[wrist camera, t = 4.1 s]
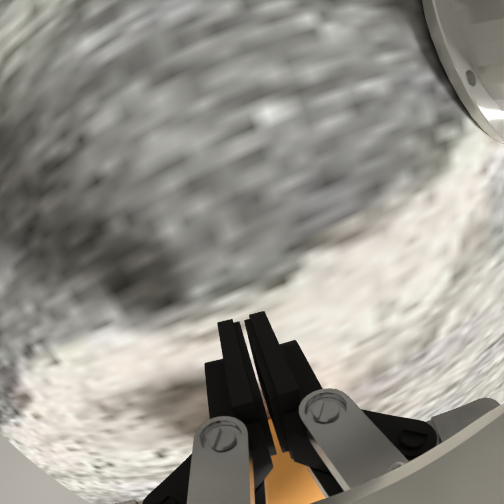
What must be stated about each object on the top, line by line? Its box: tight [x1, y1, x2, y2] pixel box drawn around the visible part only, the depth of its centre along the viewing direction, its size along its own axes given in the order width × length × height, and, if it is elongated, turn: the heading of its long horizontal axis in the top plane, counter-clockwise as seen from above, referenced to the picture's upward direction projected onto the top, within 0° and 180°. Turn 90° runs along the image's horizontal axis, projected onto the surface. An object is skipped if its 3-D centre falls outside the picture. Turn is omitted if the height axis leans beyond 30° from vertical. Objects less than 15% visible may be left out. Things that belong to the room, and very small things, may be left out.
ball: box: [266, 418, 325, 504], centre depth 14 cm, size 6×6×6 cm
